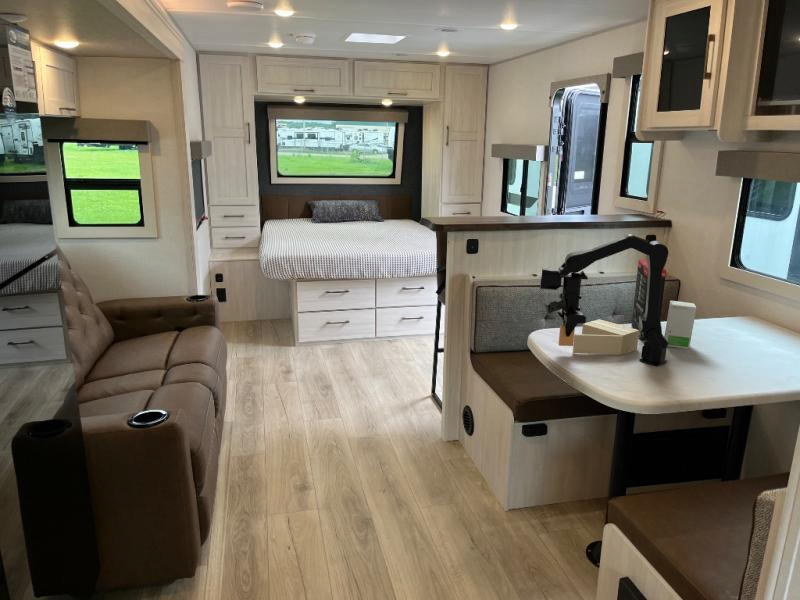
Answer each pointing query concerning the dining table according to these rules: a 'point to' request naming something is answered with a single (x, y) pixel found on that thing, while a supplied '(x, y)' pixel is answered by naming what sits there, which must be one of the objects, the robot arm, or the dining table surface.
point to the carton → (613, 333)
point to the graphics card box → (643, 294)
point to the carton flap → (591, 343)
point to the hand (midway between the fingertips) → (566, 335)
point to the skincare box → (680, 324)
